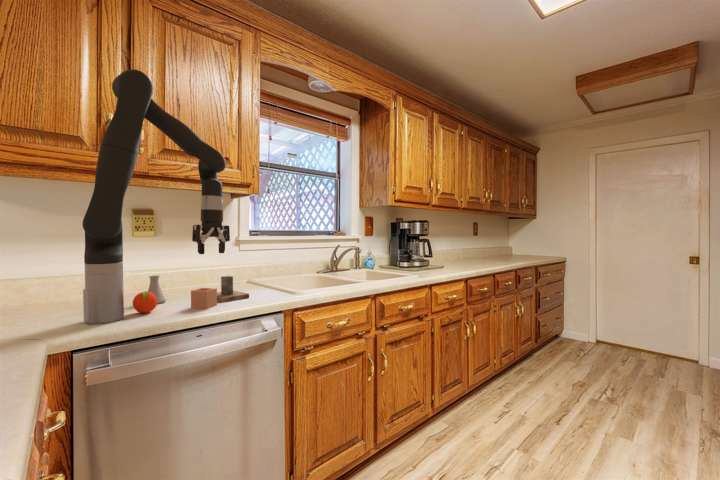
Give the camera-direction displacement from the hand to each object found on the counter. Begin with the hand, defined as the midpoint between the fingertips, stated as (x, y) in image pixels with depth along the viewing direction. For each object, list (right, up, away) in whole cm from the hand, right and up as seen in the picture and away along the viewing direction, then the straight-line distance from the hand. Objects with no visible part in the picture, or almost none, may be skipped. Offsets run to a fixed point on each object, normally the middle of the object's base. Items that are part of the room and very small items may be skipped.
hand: (211, 253), depth 127 cm
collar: (-1, -19, -4) cm, 19 cm away
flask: (-22, -19, +2) cm, 29 cm away
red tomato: (-16, -19, -14) cm, 28 cm away
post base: (+1, -18, +11) cm, 21 cm away
